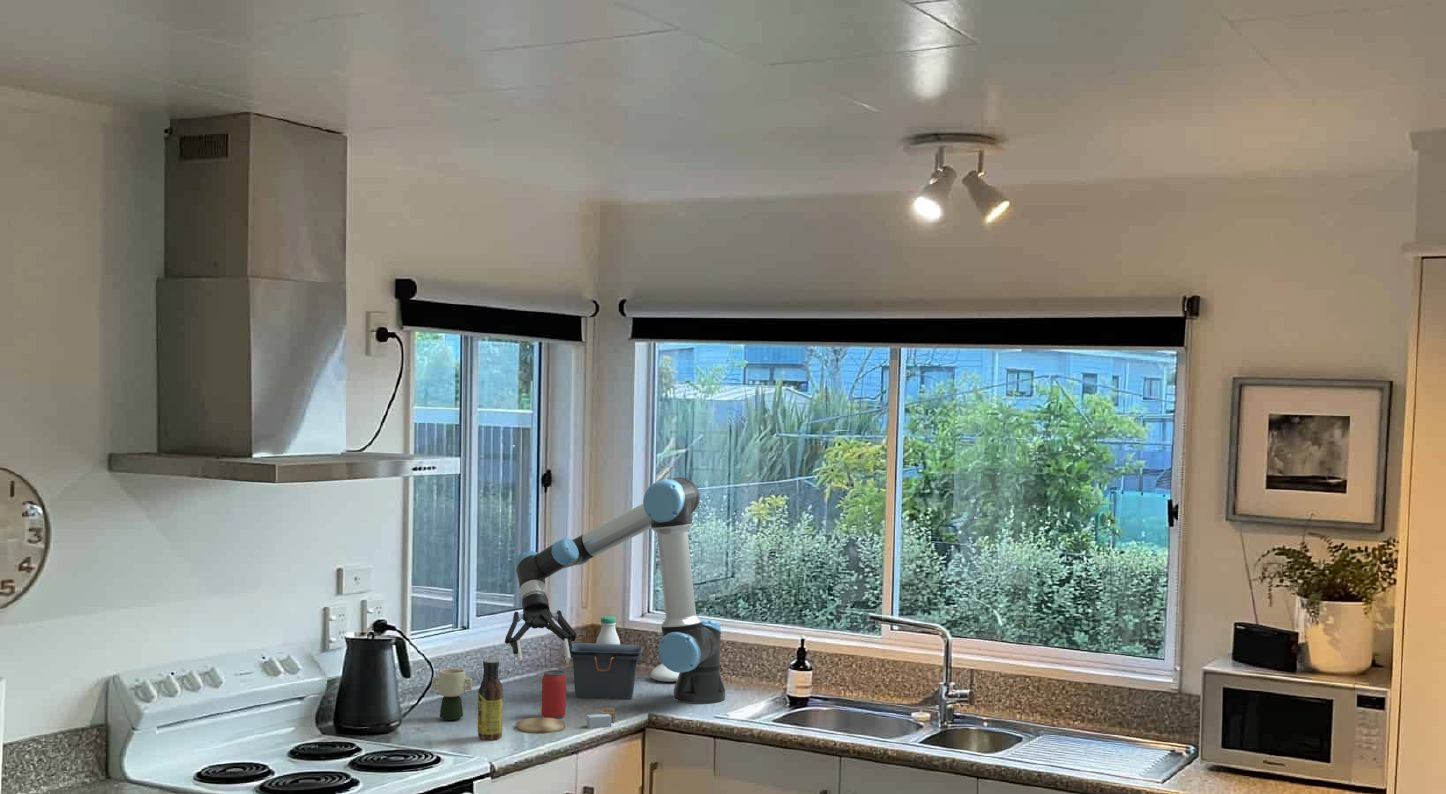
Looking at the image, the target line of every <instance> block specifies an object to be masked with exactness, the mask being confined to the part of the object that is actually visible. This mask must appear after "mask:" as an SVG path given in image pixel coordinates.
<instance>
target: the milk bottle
mask: <svg viewBox="0 0 1446 794" xmlns="http://www.w3.org/2000/svg"><path fill="white" fill-rule="evenodd" d="M616 624H617V617H616V616H612V615H611V616H610V615H609V616H608V615H607V616H601V618H600V625H601V626H600V627H601V629H600V632H599V634H598V636H597V638H596V642H595V643H597V644H620V645H621V641H620V637H619V635H618V633H617V630H616Z"/></svg>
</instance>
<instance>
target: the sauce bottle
mask: <svg viewBox="0 0 1446 794" xmlns="http://www.w3.org/2000/svg"><path fill="white" fill-rule="evenodd" d="M482 666H483V675H482V681H481V683H480V685H479V689H478V691H477V736H478V738H479V740H483V741H496V740H499V739H500V738H501V737H502V736H503V734H502V733H503V720H504V719H503V717H504V715H503V714H504V713H503V712H504V709H503V707H504V706H503V705H504V703H503V702H504V696H503V695H504V694H503V685H502V684H503V683H502V682H501V681H500V678H499V676H500V675H499V668H500V660H499V659H497V658H496V659H495V658H488V659H484V660H483V661H482Z"/></svg>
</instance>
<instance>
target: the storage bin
mask: <svg viewBox="0 0 1446 794" xmlns="http://www.w3.org/2000/svg"><path fill="white" fill-rule="evenodd" d="M643 649H644V647H643V646H642V645H637V644H621V643H620V644H597V643H596V642H595V643H594V642H593V643H592V642H575V643H572V650H571V652H570V656H571V659H572V665H573V667H572V668H573V669H572V670H573V684H574V696H575V697H576V698H578V699H581V698H582V699H583V698H584V699H611V700H612V699H613V700H631V699H633V694H634V690H635V681H636V674H637V667H638V660H641V657H642V654H643V653H642V652H643Z"/></svg>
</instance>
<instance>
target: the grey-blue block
mask: <svg viewBox="0 0 1446 794" xmlns="http://www.w3.org/2000/svg"><path fill="white" fill-rule="evenodd" d="M611 722H612V716H611V715H610V714H602V713H601V714H586V727H587V726H588V729H597V728H598V727H602V728H612V724H611ZM595 727H597V728H595ZM598 729H599V728H598Z"/></svg>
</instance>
